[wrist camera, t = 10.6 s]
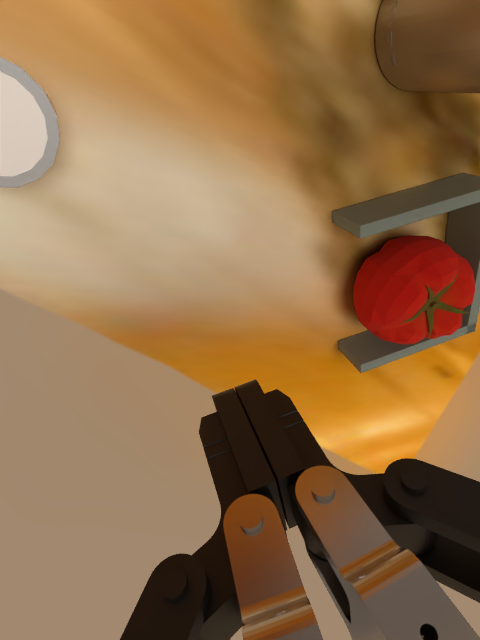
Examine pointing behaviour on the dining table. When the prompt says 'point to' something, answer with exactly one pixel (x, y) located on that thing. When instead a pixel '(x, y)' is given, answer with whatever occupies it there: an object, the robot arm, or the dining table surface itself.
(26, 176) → the white cylindrical piece
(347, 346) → the crate
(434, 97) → the dining table surface
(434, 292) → the tomato
